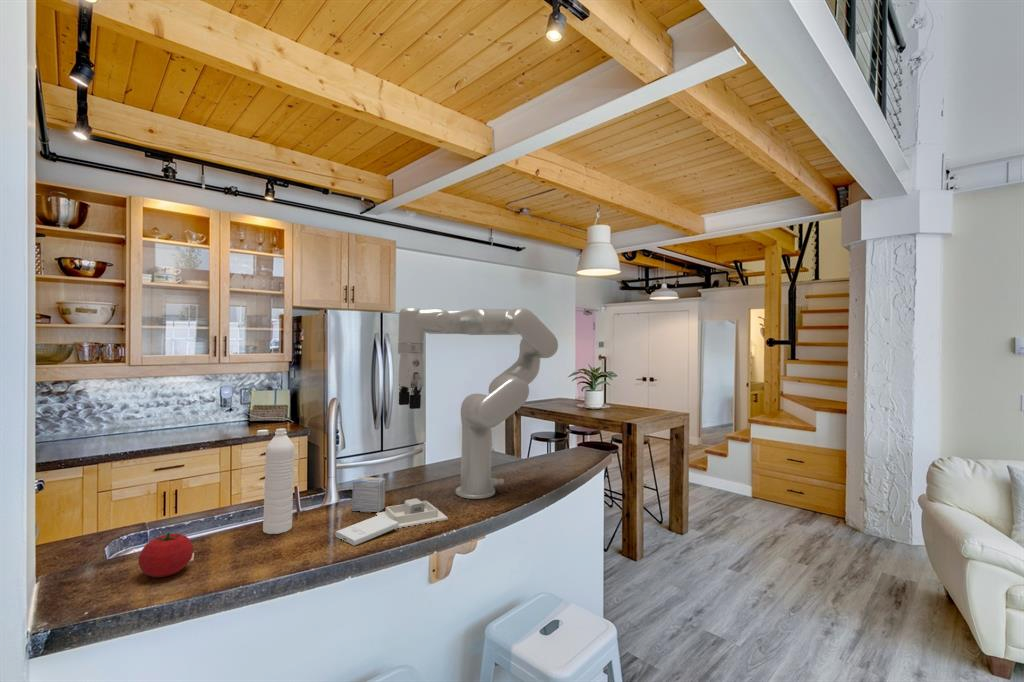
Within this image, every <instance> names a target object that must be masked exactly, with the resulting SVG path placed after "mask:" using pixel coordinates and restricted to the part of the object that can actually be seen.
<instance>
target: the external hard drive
mask: <svg viewBox="0 0 1024 682" xmlns="http://www.w3.org/2000/svg"><path fill="white" fill-rule="evenodd" d="M398 526H399V523H398V522H397V521H394V520H392V519H390V518H387V517H385V516H382V515H377V516H376V515H375V516H373V517H369V518H367V519H365V520H362V521H360V522H357V523H354V524H352V525H349V526H346V527H344V528H341V529H339V530H336V531H335V533H334V534H335V535H334V536H335V537H336V538H337V539H339V540H341V539H342V540H341V541H343V540H344V541H343V542H345V541H346V542H348V543H350V544H352V545H353V547H354V546H358V545H360V544H362V543H364V542H367V541H369V540H372V539H374V538H376V537H379V536H382V535H383V534H386V533H388V532H391V531H393V529H394V530H397V529H396V528H398ZM346 542H345V543H346ZM348 543H347V544H348ZM350 544H349V545H350ZM352 545H351V546H352Z"/></svg>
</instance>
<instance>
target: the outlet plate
mask: <svg viewBox="0 0 1024 682" xmlns="http://www.w3.org/2000/svg"><path fill="white" fill-rule="evenodd" d="M420 501H421V500H420ZM421 502H422V503H424V504H425V510H424V512H419V513H413V514H407V515H405V514H404V504H397V505H390V506H389V505H388V506H385V511H381V512H379V513H375V516H376V515H382V516H385V517H387V518H390V519H392V520H394V521H397V522H398V523H399V526H398V528H399V529H403V528H402V527H405V528H409V527H408V526H410V527H415V526H414V525H416V526H420V525H419V524H421V525H426V524H425V523H427V524H431V522H432V523H437V522H436V521H438V522H442V521H446V520H447V521H448V520H449V519H448V516H447V515H446V514H444V513H443V512H442V511H441V510H439V509H438V508H437V507H436V506H434V505H433V504H432V503H430V502H429V501H427V500H422V501H421ZM395 530H398V529H397V528H396V529H395Z"/></svg>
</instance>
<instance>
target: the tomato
mask: <svg viewBox="0 0 1024 682" xmlns="http://www.w3.org/2000/svg"><path fill="white" fill-rule="evenodd" d="M193 554H194V546H193V542H192V541H191V539H190V538H189V537H188V536H186V535H185V532H184V533H170V532H167V534H163V535H159V536H158V537H155V538H154V539H151V540H150V541H148V542H147V543H146V544H145V545H144V547H142V549H141V550H140V554H139V555H138V556H139V557H138V561H137V563H138V565H139V569H140V570H141V571H142V572H143V573H144V575H147V576H149V577H152V578H164V577H169V576H172V575H174V574H177V573H178V572H180V571H181V570H182V569H184V568H185V567H186V566H187V565H188V564H189V563H190V561H191V560H192V557H193Z"/></svg>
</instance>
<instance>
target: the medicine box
mask: <svg viewBox="0 0 1024 682" xmlns="http://www.w3.org/2000/svg"><path fill="white" fill-rule="evenodd" d="M351 499H352V502H351V503H352V504H351V505H352V506H351V511H360V512H359V513H371V512H377V513H379V512H380V511H381V512H383V510H384V509H386V503H385V502H386V478H384V477H371V476H369V477H367V476H359V477H357V478H355V480H353V481H352V498H351Z"/></svg>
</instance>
